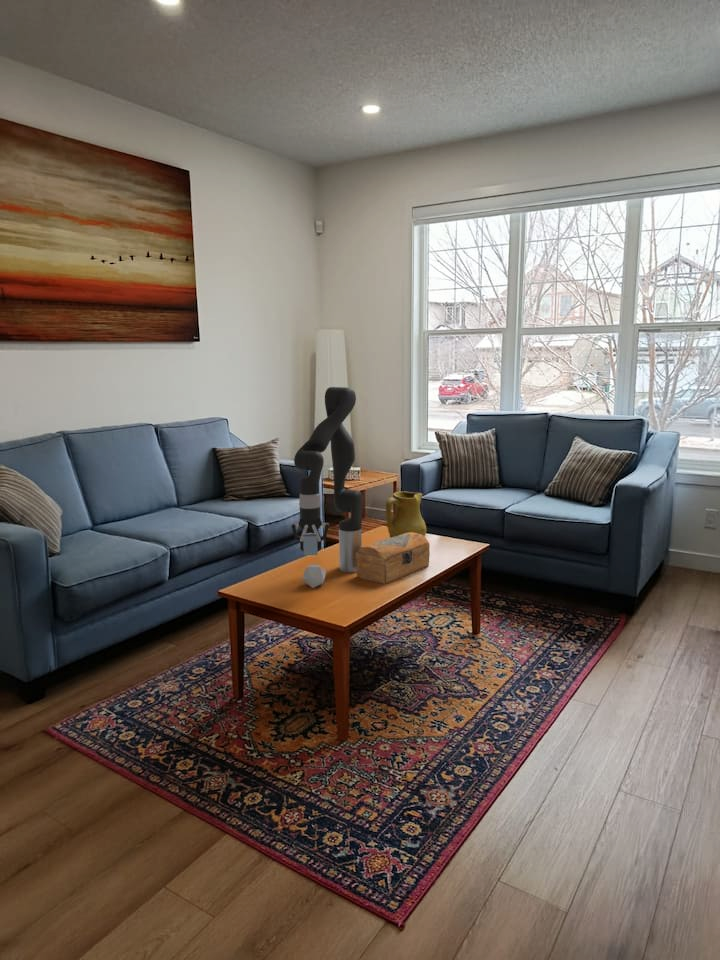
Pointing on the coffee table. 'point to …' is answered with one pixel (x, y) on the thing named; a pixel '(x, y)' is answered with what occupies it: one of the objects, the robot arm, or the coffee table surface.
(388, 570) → the wooden box
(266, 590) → the coffee table surface
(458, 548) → the coffee table surface
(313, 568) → the die
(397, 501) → the pitcher
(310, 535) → the block
